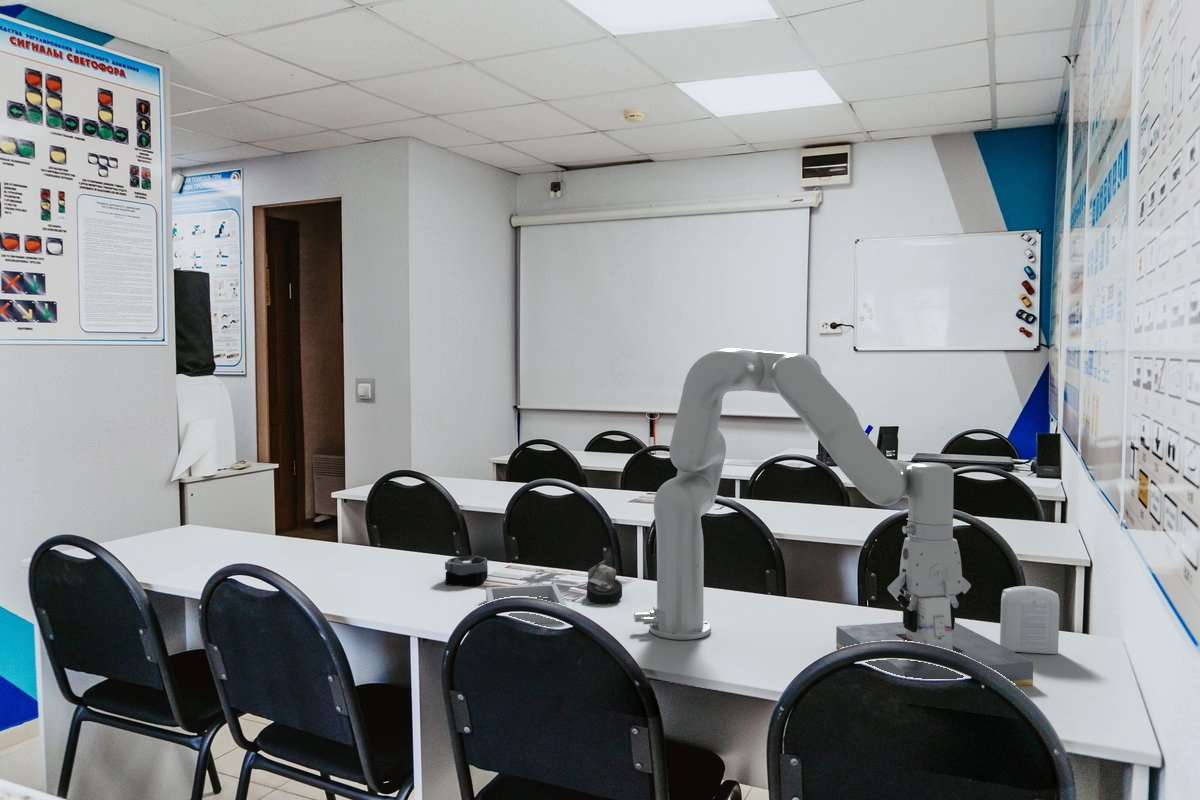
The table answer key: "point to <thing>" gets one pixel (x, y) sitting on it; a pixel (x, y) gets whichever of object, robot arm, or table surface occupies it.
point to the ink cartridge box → (933, 621)
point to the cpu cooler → (466, 571)
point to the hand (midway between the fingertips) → (928, 628)
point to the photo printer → (1030, 620)
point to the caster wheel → (603, 585)
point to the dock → (962, 642)
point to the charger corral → (530, 591)
